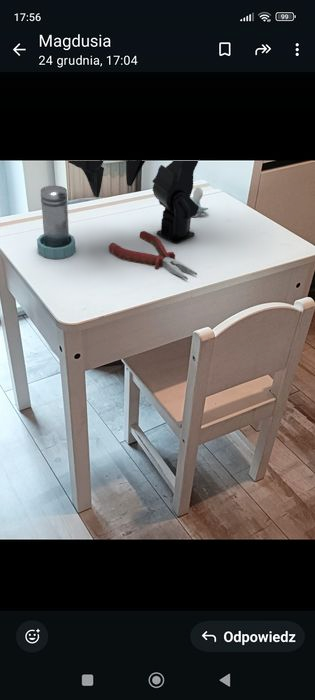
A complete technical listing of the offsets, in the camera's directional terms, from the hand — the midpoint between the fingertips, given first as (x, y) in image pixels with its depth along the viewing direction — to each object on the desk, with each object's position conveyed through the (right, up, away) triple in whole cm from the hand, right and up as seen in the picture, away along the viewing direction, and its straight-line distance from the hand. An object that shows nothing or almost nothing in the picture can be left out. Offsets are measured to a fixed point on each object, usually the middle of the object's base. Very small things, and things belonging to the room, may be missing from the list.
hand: (113, 191), depth 117 cm
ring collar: (-13, -11, +6) cm, 18 cm away
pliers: (+7, -14, +5) cm, 17 cm away
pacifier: (+18, +1, +25) cm, 31 cm away
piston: (-12, -11, +6) cm, 17 cm away
